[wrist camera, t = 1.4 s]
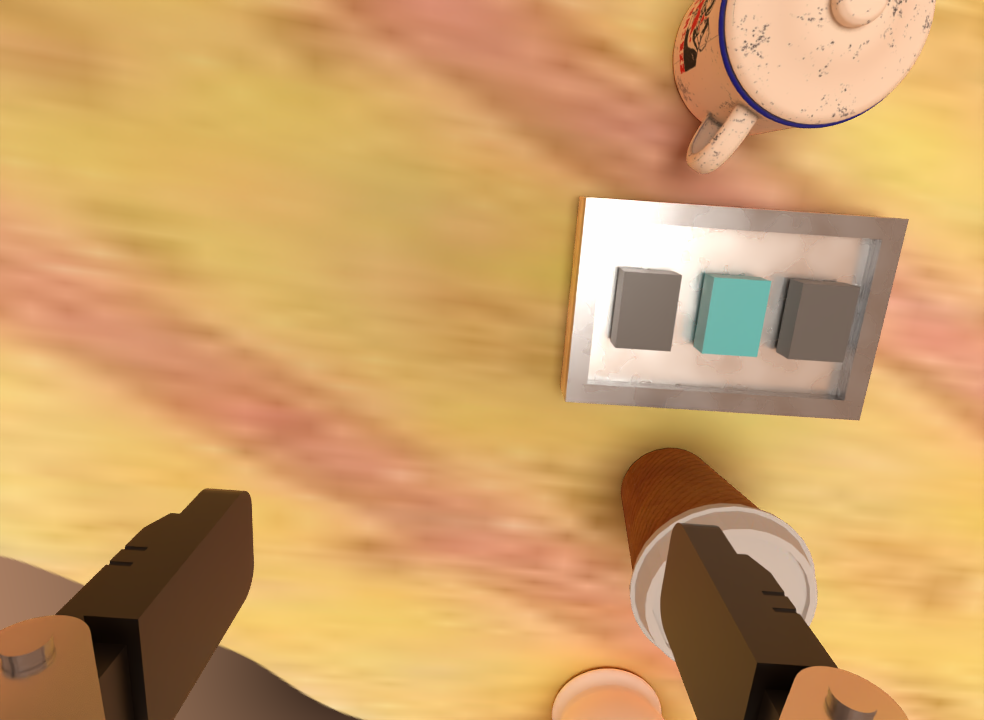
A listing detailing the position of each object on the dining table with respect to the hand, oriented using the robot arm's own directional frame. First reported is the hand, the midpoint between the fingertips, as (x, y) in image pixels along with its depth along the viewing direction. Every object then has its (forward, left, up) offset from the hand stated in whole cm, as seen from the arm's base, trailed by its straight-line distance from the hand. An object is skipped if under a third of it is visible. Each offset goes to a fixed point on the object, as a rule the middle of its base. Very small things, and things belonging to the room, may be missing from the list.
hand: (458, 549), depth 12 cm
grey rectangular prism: (0, +9, -25) cm, 26 cm away
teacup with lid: (-13, +13, -28) cm, 34 cm away
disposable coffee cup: (+13, +13, -28) cm, 34 cm away
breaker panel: (0, +14, -28) cm, 31 cm away
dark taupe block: (0, +19, -25) cm, 31 cm away
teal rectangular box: (0, +14, -25) cm, 29 cm away
